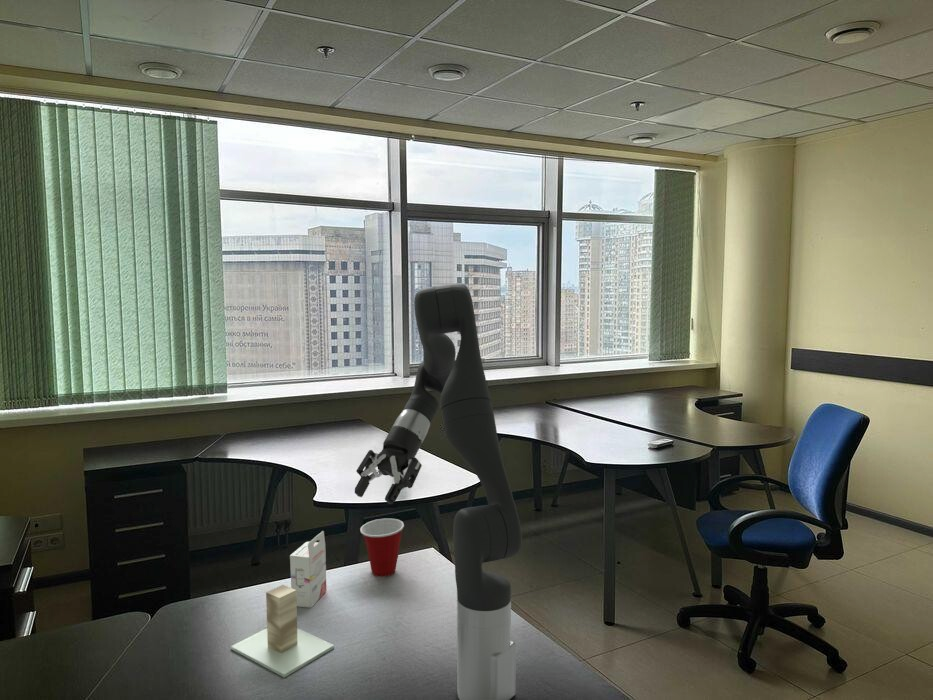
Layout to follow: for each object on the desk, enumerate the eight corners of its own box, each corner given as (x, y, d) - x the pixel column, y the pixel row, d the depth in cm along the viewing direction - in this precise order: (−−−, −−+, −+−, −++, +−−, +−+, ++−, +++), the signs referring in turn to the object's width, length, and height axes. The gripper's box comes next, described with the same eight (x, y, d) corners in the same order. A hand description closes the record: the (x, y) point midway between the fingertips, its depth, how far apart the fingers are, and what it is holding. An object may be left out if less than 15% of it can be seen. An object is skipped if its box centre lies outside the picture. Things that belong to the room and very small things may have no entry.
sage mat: (334, 648, 127) (334, 645, 127) (284, 677, 117) (284, 674, 117) (281, 623, 136) (281, 620, 136) (231, 649, 127) (231, 646, 126)
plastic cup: (355, 567, 164) (354, 521, 163) (396, 560, 169) (395, 515, 167) (367, 585, 154) (367, 536, 153) (410, 576, 159) (410, 529, 158)
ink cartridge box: (307, 589, 152) (305, 528, 151) (327, 591, 151) (325, 529, 150) (290, 606, 144) (288, 542, 142) (311, 608, 143) (309, 543, 141)
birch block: (297, 644, 127) (296, 590, 126) (281, 653, 124) (279, 597, 123) (284, 637, 130) (282, 584, 129) (267, 646, 126) (266, 592, 125)
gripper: (375, 421, 145) (338, 483, 137) (425, 428, 137) (389, 495, 129) (391, 440, 150) (357, 501, 142) (440, 448, 142) (407, 513, 133)
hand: (372, 498), depth 135 cm, fingers open, 8 cm apart
